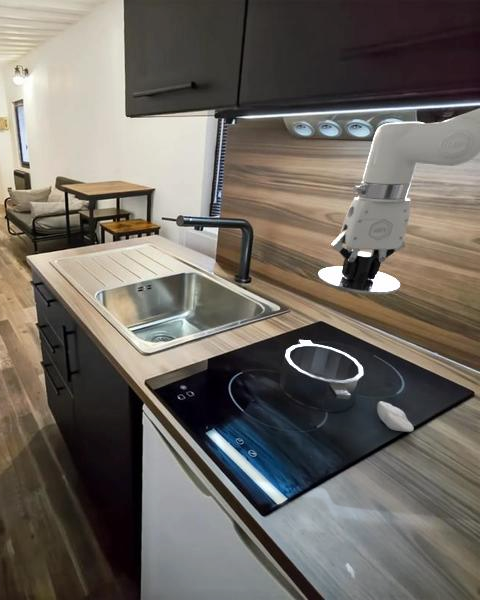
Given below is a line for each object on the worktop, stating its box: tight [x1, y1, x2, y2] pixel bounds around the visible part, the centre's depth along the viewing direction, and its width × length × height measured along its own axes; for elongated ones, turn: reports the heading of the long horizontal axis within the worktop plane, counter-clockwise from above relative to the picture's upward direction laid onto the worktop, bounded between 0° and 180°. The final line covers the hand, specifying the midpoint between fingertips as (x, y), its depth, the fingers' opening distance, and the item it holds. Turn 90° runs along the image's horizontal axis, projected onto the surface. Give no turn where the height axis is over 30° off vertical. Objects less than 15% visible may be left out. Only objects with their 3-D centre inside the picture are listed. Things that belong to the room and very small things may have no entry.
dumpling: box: [376, 400, 415, 433], centre depth 68 cm, size 7×5×4 cm
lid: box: [317, 251, 401, 295], centre depth 79 cm, size 15×15×7 cm
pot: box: [278, 339, 365, 414], centre depth 77 cm, size 14×19×8 cm
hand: (357, 276), depth 80 cm, fingers closed on lid, 3 cm apart
